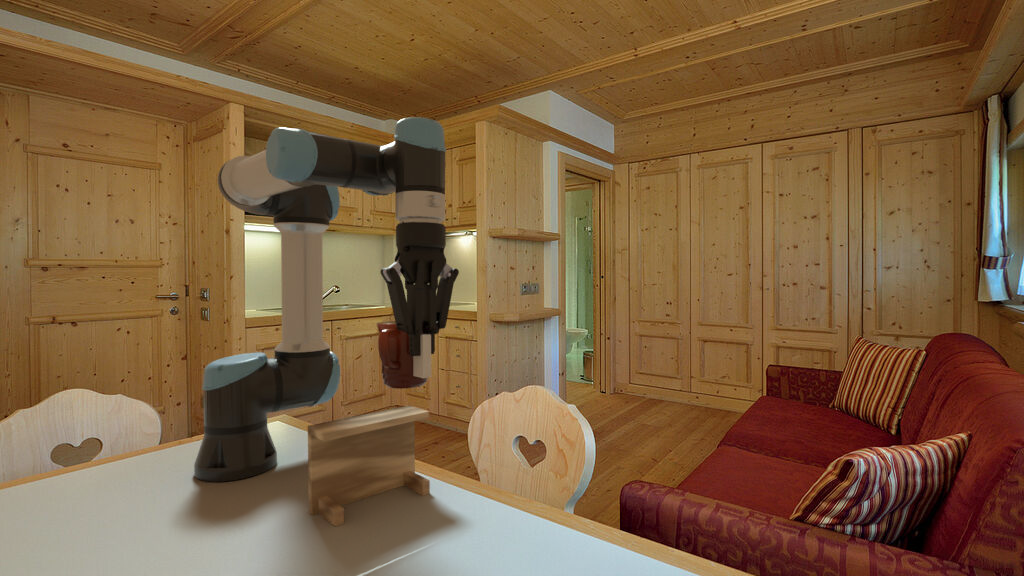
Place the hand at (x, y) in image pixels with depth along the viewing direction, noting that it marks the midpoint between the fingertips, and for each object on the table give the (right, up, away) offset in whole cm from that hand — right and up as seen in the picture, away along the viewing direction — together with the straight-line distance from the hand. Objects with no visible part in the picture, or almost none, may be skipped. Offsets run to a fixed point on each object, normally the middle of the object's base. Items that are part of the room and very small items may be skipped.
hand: (422, 376), depth 79 cm
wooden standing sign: (-11, -24, +12) cm, 29 cm away
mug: (-4, -2, +2) cm, 5 cm away
